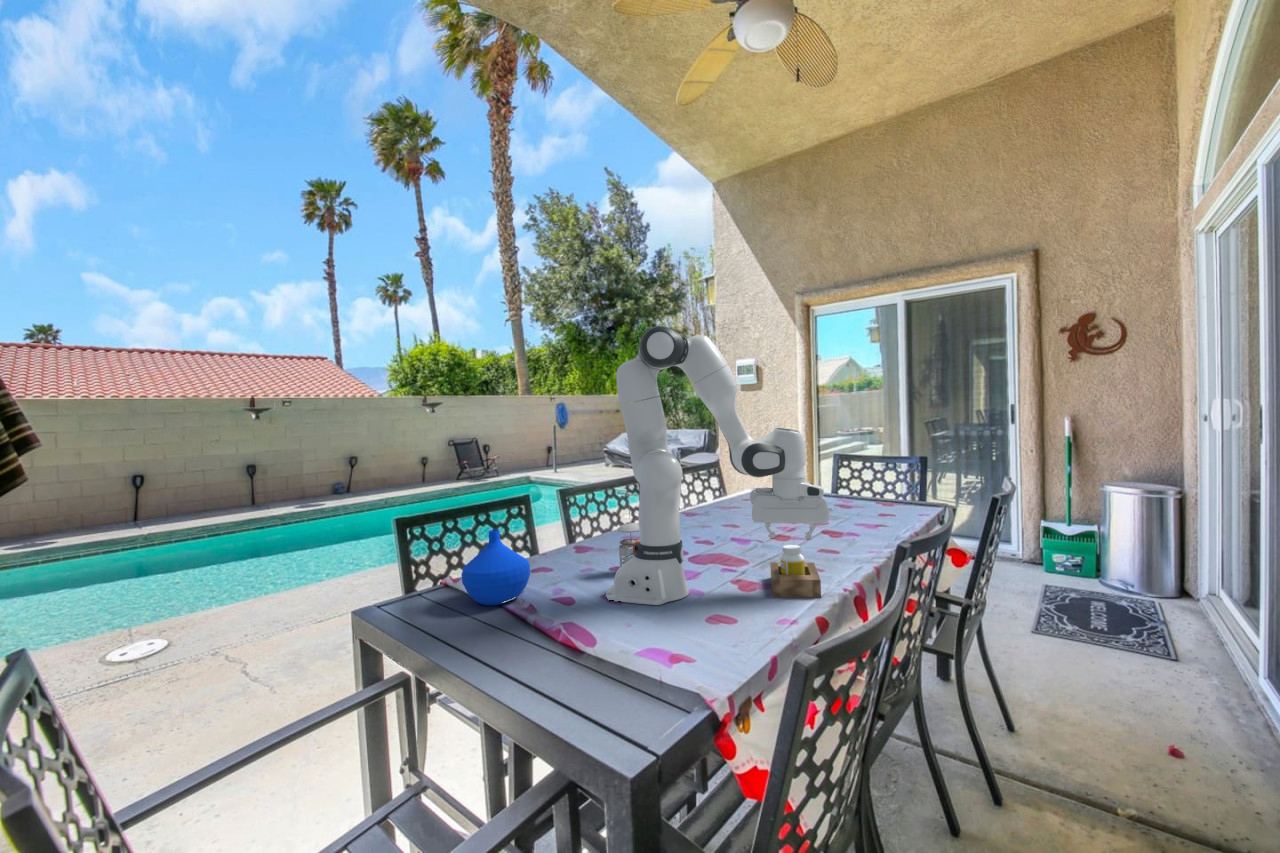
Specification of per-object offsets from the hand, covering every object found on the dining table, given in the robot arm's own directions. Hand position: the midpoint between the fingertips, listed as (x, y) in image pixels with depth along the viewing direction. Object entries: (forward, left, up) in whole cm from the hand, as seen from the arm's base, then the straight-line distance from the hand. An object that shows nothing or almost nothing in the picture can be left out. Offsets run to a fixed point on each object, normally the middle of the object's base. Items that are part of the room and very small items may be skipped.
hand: (790, 539), depth 148 cm
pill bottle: (0, 0, -13) cm, 13 cm away
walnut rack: (+1, 0, -13) cm, 13 cm away
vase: (-79, -14, -13) cm, 82 cm away
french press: (-46, +13, -13) cm, 50 cm away
